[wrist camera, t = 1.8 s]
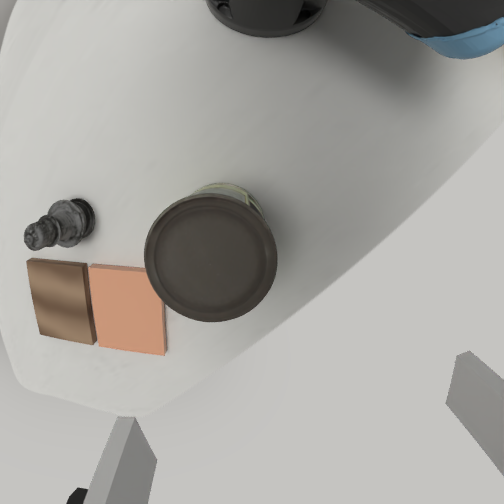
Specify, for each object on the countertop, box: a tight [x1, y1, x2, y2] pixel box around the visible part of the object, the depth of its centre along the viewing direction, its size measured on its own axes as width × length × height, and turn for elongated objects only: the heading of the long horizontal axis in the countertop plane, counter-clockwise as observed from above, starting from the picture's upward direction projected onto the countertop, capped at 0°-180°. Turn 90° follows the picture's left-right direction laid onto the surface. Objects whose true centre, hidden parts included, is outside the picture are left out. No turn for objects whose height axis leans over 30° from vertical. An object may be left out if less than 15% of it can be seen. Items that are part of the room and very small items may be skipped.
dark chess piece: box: [24, 198, 95, 251], centre depth 30 cm, size 6×6×12 cm
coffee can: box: [144, 183, 277, 322], centre depth 30 cm, size 10×10×14 cm
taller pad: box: [88, 264, 167, 356], centre depth 39 cm, size 12×10×2 cm
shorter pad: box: [26, 258, 97, 345], centre depth 39 cm, size 12×10×2 cm
